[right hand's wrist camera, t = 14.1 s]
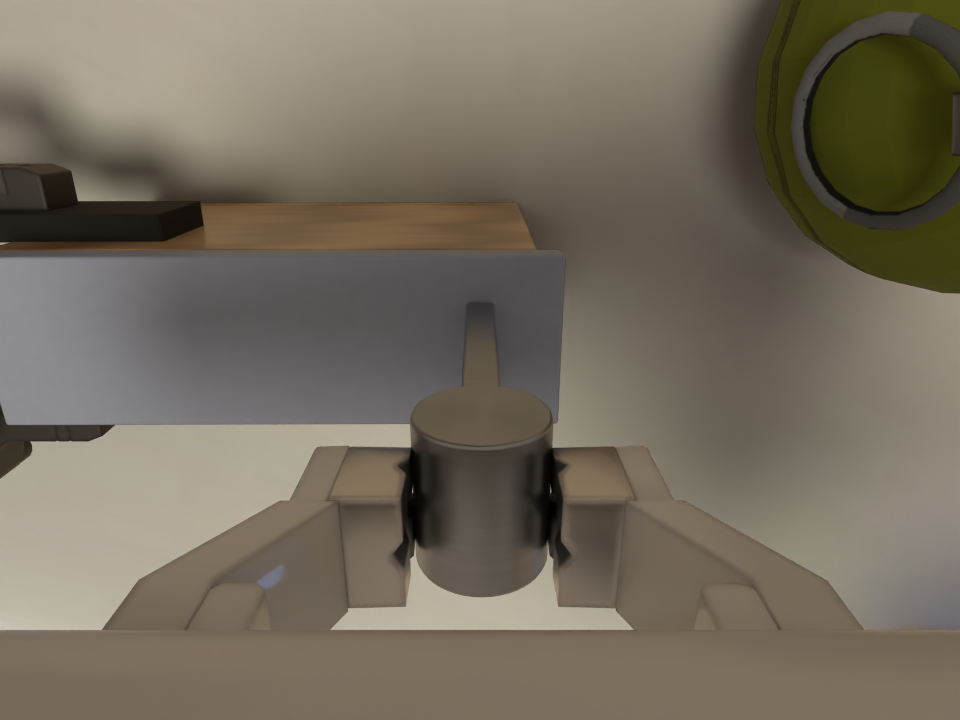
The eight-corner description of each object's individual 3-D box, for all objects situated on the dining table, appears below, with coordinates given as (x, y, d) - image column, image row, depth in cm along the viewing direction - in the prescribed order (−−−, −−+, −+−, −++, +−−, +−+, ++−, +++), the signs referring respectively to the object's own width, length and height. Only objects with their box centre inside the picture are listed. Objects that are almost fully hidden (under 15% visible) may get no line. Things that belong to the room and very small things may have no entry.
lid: (561, 249, 16) (642, 379, 8) (554, 410, 18) (615, 649, 10) (-20, 249, 16) (-501, 382, 8) (26, 412, 18) (-337, 652, 10)
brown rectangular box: (517, 202, 25) (538, 248, 16) (515, 315, 26) (533, 410, 18) (151, 203, 25) (-19, 249, 16) (172, 315, 26) (28, 411, 18)
